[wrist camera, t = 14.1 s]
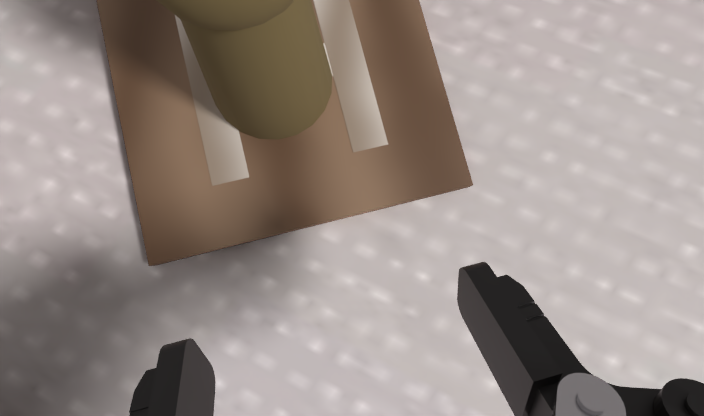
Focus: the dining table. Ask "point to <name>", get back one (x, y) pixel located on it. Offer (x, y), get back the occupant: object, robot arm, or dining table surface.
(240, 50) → the olive pawn figure
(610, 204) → the dining table surface
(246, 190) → the board
